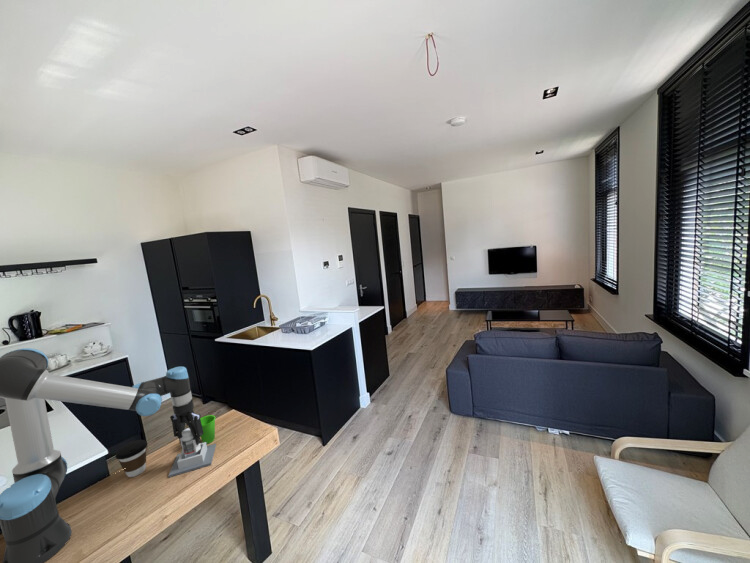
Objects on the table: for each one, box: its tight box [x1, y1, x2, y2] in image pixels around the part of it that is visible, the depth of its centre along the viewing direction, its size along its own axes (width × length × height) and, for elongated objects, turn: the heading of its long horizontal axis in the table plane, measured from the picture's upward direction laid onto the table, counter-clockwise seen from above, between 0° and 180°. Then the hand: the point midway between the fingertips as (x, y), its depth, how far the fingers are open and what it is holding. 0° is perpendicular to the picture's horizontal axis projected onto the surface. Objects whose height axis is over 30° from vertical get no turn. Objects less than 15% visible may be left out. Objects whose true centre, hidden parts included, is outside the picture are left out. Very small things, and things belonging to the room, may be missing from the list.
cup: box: [200, 414, 217, 444], centre depth 148 cm, size 9×9×11 cm
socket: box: [168, 442, 217, 478], centre depth 135 cm, size 16×14×4 cm
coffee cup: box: [114, 439, 148, 478], centre depth 131 cm, size 11×11×12 cm
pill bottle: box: [182, 427, 195, 455], centre depth 134 cm, size 6×6×10 cm
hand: (191, 450), depth 135 cm, fingers closed on pill bottle, 6 cm apart
